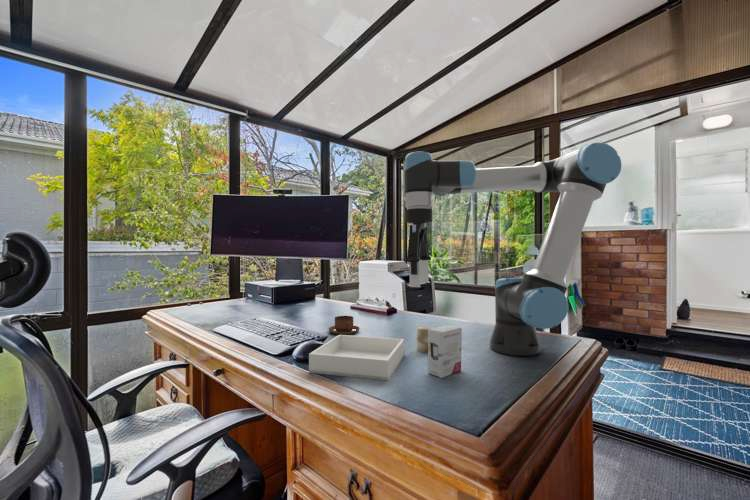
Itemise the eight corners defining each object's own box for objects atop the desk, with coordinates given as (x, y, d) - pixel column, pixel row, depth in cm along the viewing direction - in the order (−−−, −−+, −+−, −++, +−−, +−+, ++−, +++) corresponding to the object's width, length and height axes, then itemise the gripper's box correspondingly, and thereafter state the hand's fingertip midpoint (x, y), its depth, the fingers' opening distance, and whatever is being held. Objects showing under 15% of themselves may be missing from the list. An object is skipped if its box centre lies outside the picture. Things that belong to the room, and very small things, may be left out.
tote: (404, 355, 109) (404, 339, 109) (388, 380, 88) (388, 360, 88) (339, 350, 115) (338, 334, 115) (309, 372, 94) (308, 353, 94)
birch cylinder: (433, 348, 116) (433, 327, 116) (431, 353, 111) (431, 330, 111) (418, 347, 118) (418, 326, 118) (415, 351, 113) (415, 329, 113)
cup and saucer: (365, 333, 139) (365, 317, 138) (342, 338, 130) (342, 321, 130) (345, 328, 147) (345, 313, 147) (322, 333, 138) (322, 317, 138)
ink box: (447, 366, 99) (447, 324, 99) (462, 371, 95) (462, 327, 95) (426, 373, 93) (426, 328, 93) (441, 378, 89) (441, 332, 89)
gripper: (414, 213, 112) (415, 280, 112) (394, 204, 89) (395, 289, 89) (438, 212, 110) (439, 280, 110) (424, 202, 86) (425, 289, 86)
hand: (419, 284), depth 99 cm, fingers open, 13 cm apart
